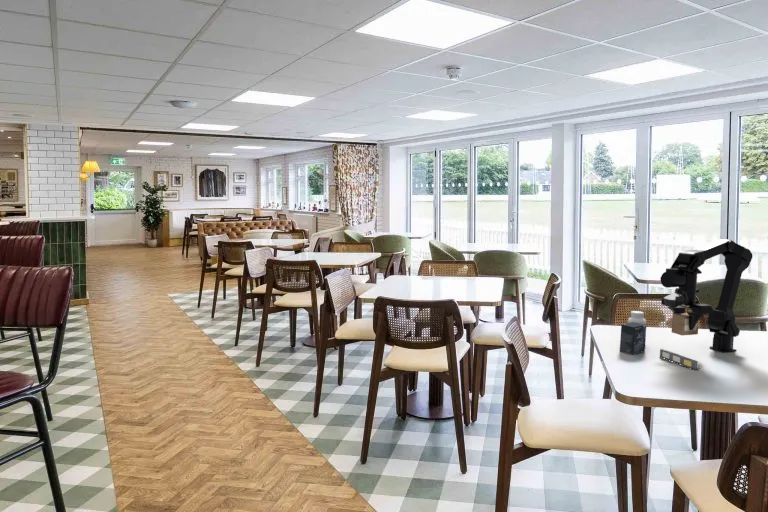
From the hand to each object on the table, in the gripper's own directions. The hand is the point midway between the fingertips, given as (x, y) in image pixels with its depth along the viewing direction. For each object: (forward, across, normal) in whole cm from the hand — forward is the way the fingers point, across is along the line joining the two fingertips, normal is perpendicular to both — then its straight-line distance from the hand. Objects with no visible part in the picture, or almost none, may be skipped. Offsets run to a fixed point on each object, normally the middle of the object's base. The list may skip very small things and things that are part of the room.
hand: (684, 328), depth 208 cm
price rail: (+10, +8, -10) cm, 16 cm away
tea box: (+2, 0, 0) cm, 2 cm away
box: (+10, -9, -15) cm, 20 cm away
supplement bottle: (+10, -18, -6) cm, 22 cm away
